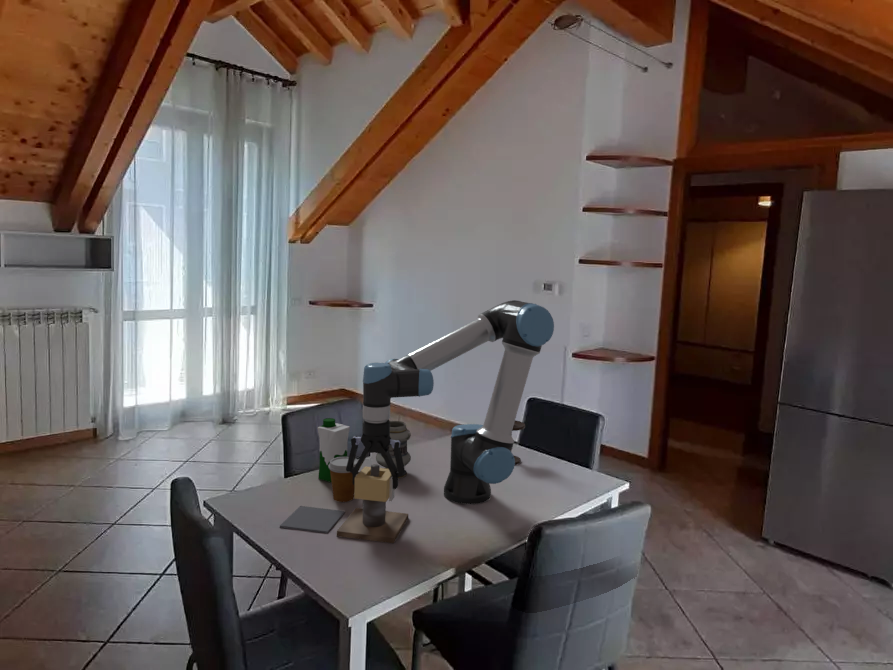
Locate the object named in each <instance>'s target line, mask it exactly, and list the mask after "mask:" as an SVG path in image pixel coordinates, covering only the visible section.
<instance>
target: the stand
mask: <svg viewBox="0 0 893 670" xmlns="http://www.w3.org/2000/svg"><path fill="white" fill-rule="evenodd" d="M370 467H371V476H374V477H379V470H380V468H381V465H379V464H378V463H376V464H371V465H370ZM386 506H387V502H382V501H372V500H363V499H362V507H355V508H354V509H353V510H352V512H351V513H350V514H349V515H348V517H347V518H346V519H345V520H344V522H343V523H342V524H341V525H340V527H338V529H337V530H336V537H340V538H347V539H357V540H363V541H371V542H380V543H388V544H394V543H395V542H396V540H397V539H398V537H399V536H400V534H401V532H402V530H403V528H404V526H405V525H406V523H407V522H408V520H409V513H405V512H396V511H388V510H386V509H387V507H386Z"/></svg>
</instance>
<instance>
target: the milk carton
mask: <svg viewBox="0 0 893 670" xmlns="http://www.w3.org/2000/svg"><path fill="white" fill-rule="evenodd" d="M350 428H351V427H350V426H349V425H345V424H343V423H342V424H341V423H337V422H336V419H335V418H332V417H329V418H328V417H327V418H324V419H323V420H322V425H320V426H318V427H317V432H318V433H317V434H318V439H319V465H318V480H321V481H325V482H328V483H330V484H332V482H331V473H330V469H329V464H330V461H331V460H332V459H334V458H337V457H348V439H349V433H350V431H351V429H350Z"/></svg>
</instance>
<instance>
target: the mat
mask: <svg viewBox="0 0 893 670" xmlns="http://www.w3.org/2000/svg"><path fill="white" fill-rule="evenodd" d="M345 513H346V512H345V510H340V509H333V508H332V509H330V508H323V507H322V508H321V507H315V506H314V507H312V506H306V505H304V506H303V505H300V506H298V507H297V509H295V510H294V511H293V512H292V513H291V514H290V515H289V516H288V517H287V518H286V519H285V520H284V521H283V522H282V523H281V524H280V525H279V528H282V529H283V528H284V529H291V530H299V531H305V532H306V531H307V532H315V533H324V534H329V533H330V531H332V529H333V528H334V527H335V525H336V524H337V523H338V522H339V520H340V519H341V518H342V517H343V516H344V515H345Z"/></svg>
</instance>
